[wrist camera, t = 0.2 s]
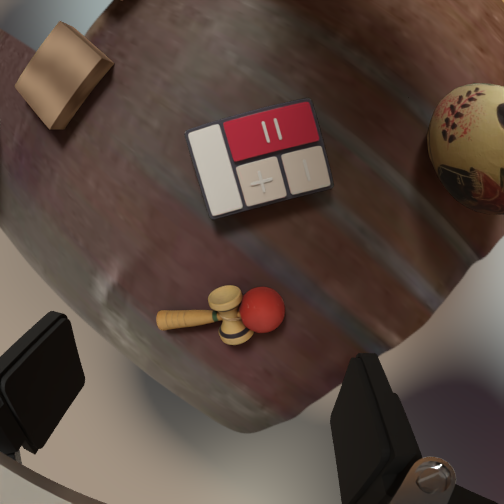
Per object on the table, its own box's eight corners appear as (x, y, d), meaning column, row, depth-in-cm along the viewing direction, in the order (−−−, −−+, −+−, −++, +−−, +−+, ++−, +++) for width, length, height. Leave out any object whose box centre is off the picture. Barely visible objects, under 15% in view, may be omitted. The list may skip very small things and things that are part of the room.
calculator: (336, 189, 34) (209, 222, 35) (328, 184, 38) (214, 214, 40) (312, 95, 31) (181, 130, 32) (306, 101, 35) (189, 132, 36)
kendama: (179, 336, 47) (292, 326, 43) (160, 353, 41) (286, 346, 36) (166, 289, 46) (282, 273, 42) (144, 302, 40) (274, 286, 35)
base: (74, 27, 31) (59, 20, 27) (115, 64, 33) (101, 57, 30) (30, 88, 34) (14, 86, 31) (65, 129, 37) (49, 129, 33)
